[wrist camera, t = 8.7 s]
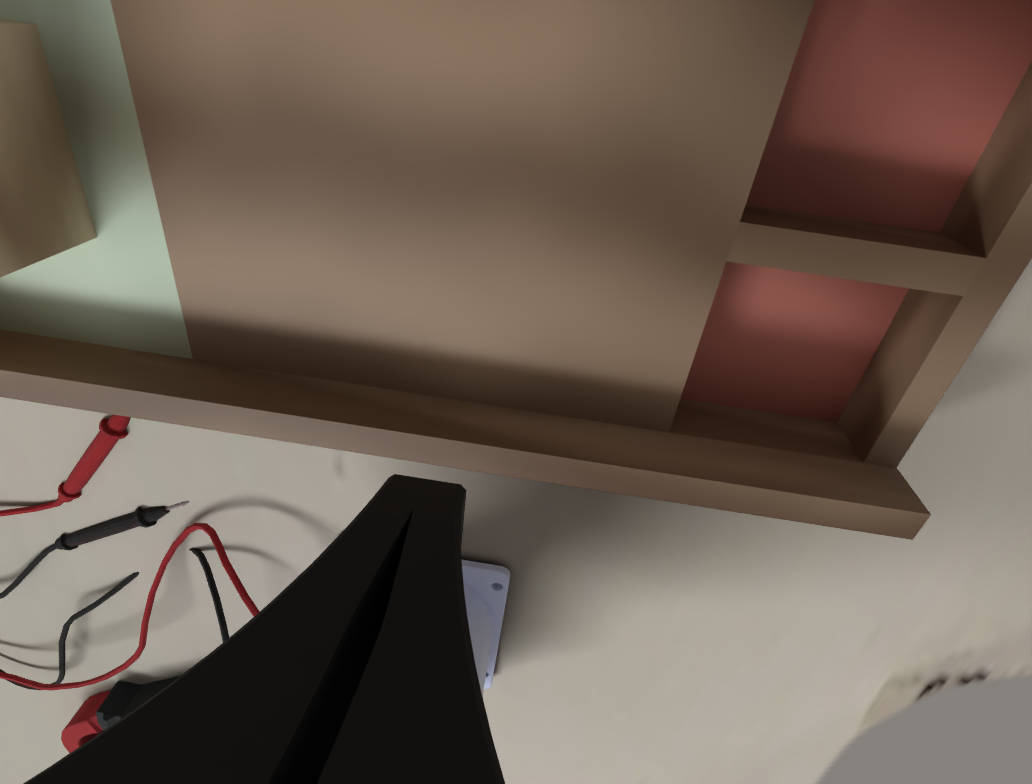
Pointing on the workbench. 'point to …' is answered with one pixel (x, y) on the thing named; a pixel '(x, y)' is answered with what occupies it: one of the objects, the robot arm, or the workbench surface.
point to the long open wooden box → (540, 233)
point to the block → (35, 158)
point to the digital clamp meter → (124, 695)
